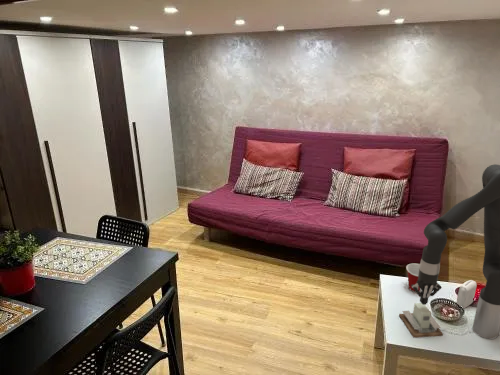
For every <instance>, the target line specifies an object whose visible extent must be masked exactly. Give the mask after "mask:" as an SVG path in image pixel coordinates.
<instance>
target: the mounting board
mask: <svg viewBox="0 0 500 375" xmlns="http://www.w3.org/2000/svg"><path fill="white" fill-rule="evenodd" d="M410 313H411V314H413V312H410ZM398 316H399V318H400V320H401V322H402V323H403V324H404V326H405V327H406V329H407V330H408V332H409V333H410V335H411V336H412V337H413V338H428V337H429V338H430V337H442V336H444V333H443V332H442V331H441V328H437V330H436V332H433V333H418V332H417V331H416V330H415V329H414V328H413V326H412V325H411V323H410V322H409V320H408V319H407V317H406V316H405V315H404V313H399V314H398Z"/></svg>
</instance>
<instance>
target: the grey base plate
mask: <svg viewBox="0 0 500 375" xmlns="http://www.w3.org/2000/svg"><path fill="white" fill-rule="evenodd" d="M411 313H412V312H410V310H402V314H404V315H405V316H406V317H407V319H408V320H409V322H410V323H411V325H412V326H413V328H414V329H415V330H416V331H417V332H418V333H433V332H436V330H437V328H439V329H441V328H442V327H441V326H440V325H439V323H438V322H437V320H436V319H435V317H433V316H432V315H431V318H430V324H429V328H421V327H420V326H419V324H418V323H417V321H416V320H415V319H414V317H413V314H411Z"/></svg>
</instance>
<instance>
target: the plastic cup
mask: <svg viewBox="0 0 500 375" xmlns="http://www.w3.org/2000/svg"><path fill="white" fill-rule="evenodd" d="M405 267H406V271H407V282H408V289H409V290H410V291H412V292H415V290H414V289H413V288H412V287H411V285H412V284H413V285H415V284H416V283H417V281H418V274H419V268H420V263H413V262H412V263H409V264H407V265H406V266H405ZM418 291H419V292H420V287H419V286H418Z"/></svg>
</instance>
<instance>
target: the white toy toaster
mask: <svg viewBox="0 0 500 375" xmlns="http://www.w3.org/2000/svg"><path fill="white" fill-rule="evenodd" d="M477 285H478V284H477V282H476V281H474V280H473V279H470V280H467V281H465V282H464V283H462V284H461V285H460V286H459V290H458V294H457V298H456V302H455V303H457V304H459V305H460V306H462V307H463V308H462V309H465V308H468V307H469V306H470V305H472V304H473V303H474V300H473V298H474V299H475V294H476V290H477Z"/></svg>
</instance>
